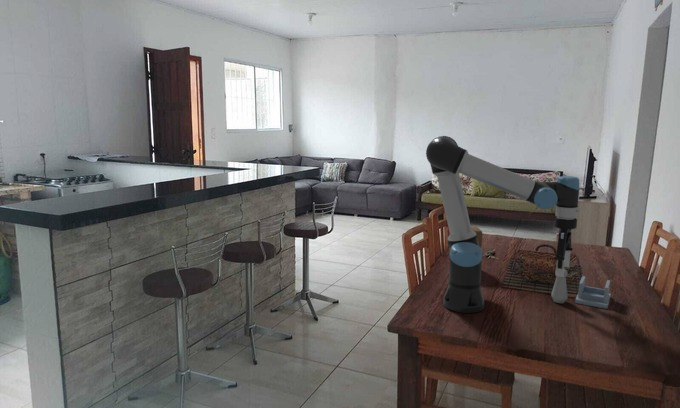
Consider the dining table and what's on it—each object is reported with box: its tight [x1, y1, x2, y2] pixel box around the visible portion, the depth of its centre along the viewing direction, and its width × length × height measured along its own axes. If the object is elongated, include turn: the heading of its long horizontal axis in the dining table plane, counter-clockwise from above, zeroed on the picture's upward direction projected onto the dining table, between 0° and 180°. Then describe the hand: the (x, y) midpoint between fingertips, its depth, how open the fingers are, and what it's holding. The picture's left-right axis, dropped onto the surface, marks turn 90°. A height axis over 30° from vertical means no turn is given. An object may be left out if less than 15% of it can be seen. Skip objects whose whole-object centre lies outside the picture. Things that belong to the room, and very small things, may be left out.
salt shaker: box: [550, 268, 569, 305], centre depth 188 cm, size 6×6×13 cm
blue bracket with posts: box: [574, 275, 612, 310], centre depth 190 cm, size 14×11×8 cm
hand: (562, 271), depth 187 cm, fingers open, 13 cm apart
